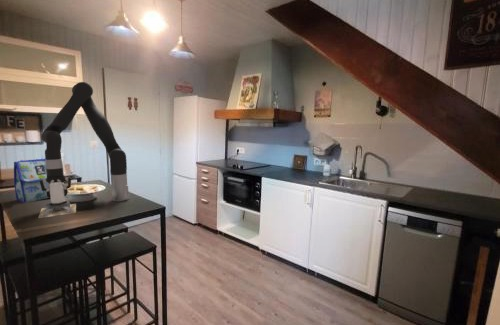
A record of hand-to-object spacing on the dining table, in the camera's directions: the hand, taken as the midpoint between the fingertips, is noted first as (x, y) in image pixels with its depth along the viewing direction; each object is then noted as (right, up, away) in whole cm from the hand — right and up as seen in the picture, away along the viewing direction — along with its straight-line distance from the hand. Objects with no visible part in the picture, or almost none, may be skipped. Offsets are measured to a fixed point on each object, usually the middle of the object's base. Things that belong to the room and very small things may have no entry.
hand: (57, 196), depth 143 cm
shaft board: (+2, -9, -2) cm, 9 cm away
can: (0, -3, +1) cm, 3 cm away
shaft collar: (+2, -7, -2) cm, 8 cm away
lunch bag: (-29, -5, +25) cm, 39 cm away
